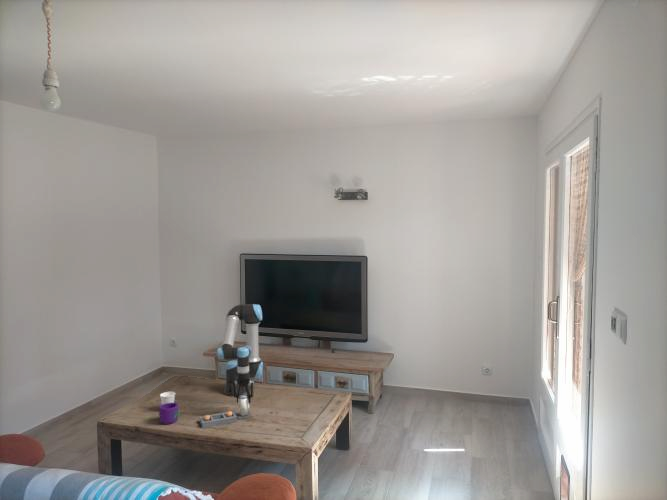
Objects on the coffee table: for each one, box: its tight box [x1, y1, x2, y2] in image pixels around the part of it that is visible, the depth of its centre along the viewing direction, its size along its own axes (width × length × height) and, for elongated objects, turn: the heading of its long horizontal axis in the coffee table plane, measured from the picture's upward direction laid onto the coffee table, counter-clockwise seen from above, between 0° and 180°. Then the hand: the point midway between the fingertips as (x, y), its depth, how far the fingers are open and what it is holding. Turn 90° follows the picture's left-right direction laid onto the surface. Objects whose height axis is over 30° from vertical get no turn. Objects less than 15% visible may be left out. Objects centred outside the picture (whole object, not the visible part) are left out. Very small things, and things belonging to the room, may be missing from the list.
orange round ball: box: [203, 414, 211, 421], centre depth 299 cm, size 4×4×3 cm
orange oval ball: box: [225, 410, 233, 417], centre depth 305 cm, size 4×4×3 cm
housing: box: [198, 410, 238, 429], centre depth 302 cm, size 21×11×3 cm, turn 116°
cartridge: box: [239, 393, 249, 416], centre depth 310 cm, size 5×5×12 cm
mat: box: [234, 411, 254, 420], centre depth 311 cm, size 9×9×1 cm
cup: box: [159, 391, 176, 405], centre depth 321 cm, size 10×10×11 cm
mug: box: [158, 401, 179, 425], centre depth 306 cm, size 17×11×10 cm, turn 171°
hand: (243, 407), depth 311 cm, fingers closed on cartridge, 5 cm apart
